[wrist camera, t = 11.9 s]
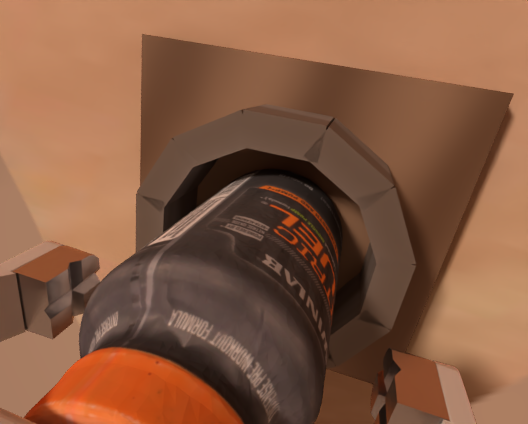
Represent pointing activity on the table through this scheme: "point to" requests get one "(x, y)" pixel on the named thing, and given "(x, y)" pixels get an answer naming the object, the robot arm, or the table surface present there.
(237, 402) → the pill bottle
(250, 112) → the holder
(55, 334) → the robot arm
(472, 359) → the table surface
